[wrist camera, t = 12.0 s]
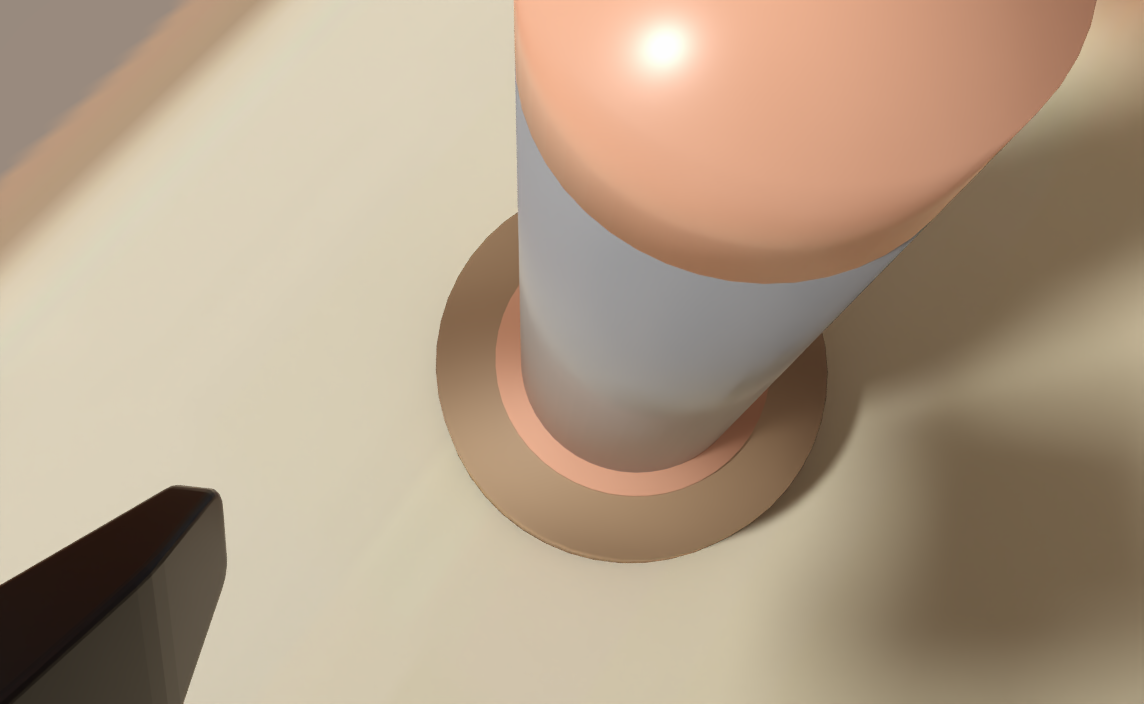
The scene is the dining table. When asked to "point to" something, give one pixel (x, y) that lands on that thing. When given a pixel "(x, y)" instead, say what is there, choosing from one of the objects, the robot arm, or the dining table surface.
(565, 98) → the cartridge
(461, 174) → the dining table surface
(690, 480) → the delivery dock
